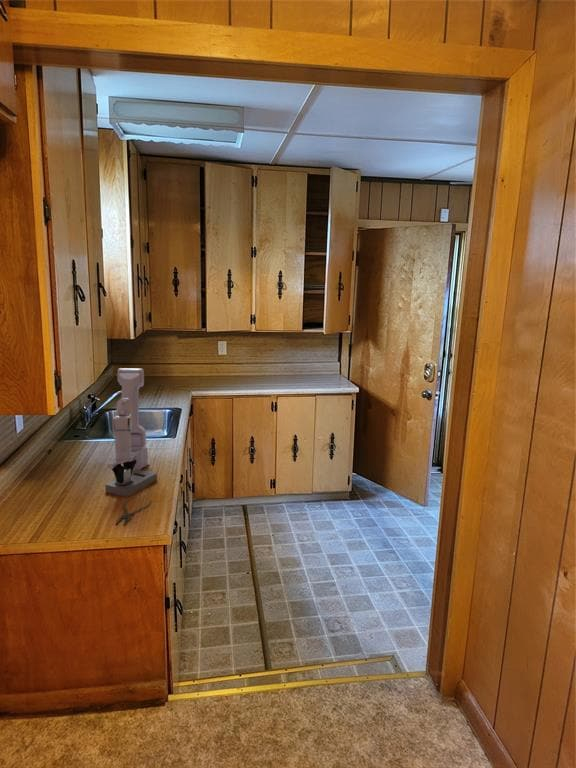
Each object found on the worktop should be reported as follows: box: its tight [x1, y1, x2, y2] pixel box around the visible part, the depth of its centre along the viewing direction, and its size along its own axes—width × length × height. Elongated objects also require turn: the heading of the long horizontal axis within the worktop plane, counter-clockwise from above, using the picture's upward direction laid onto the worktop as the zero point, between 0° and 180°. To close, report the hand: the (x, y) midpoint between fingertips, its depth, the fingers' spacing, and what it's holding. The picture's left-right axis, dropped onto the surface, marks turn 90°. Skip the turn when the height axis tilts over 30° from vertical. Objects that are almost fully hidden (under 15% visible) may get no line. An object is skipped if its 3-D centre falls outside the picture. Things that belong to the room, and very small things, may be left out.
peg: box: [114, 467, 131, 487], centre depth 185 cm, size 4×4×8 cm
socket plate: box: [104, 469, 158, 498], centre depth 189 cm, size 18×10×3 cm, turn 158°
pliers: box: [115, 498, 153, 527], centre depth 169 cm, size 10×1×20 cm
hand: (124, 480), depth 185 cm, fingers closed on peg, 4 cm apart
